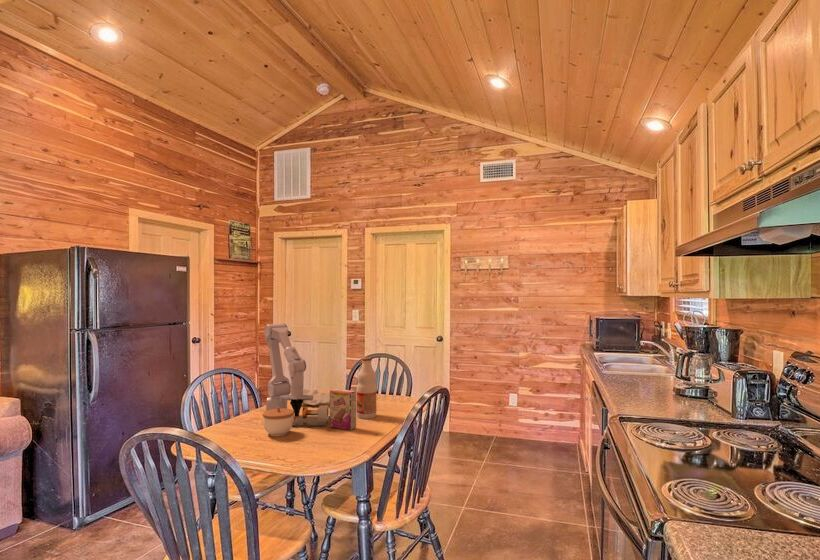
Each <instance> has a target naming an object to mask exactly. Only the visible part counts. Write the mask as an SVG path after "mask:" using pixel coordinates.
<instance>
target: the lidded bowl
mask: <svg viewBox="0 0 820 560" xmlns="http://www.w3.org/2000/svg"><path fill="white" fill-rule="evenodd" d="M262 417H263V418H262V420H263V422H262V423H263V427H264V430H265V431H266V432H267V433H268V434H269V436H271V437H283V436H286V435H288V432H289V431H291V429H292V428H293V427H292V425H293V422H294V417H295V414H294V410H293V409H292V408H287V409H286V408H280V407H277V409H271V410H267V411H266V410H265V411H264V412H263V413H262Z"/></svg>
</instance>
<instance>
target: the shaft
mask: <svg viewBox="0 0 820 560" xmlns="http://www.w3.org/2000/svg"><path fill="white" fill-rule="evenodd" d="M301 416H302V418H307V416H318V409H309V408H308V407H307V406H304V407H302V411H301Z"/></svg>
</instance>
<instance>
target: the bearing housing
mask: <svg viewBox="0 0 820 560" xmlns="http://www.w3.org/2000/svg"><path fill="white" fill-rule="evenodd" d="M317 410H318V415H311V416H307V418H302V415H301V416H300V415H299V416H298V417H295V420H294V419H293V425H292V427H291V428H326V426H327V424H328V422H330V407H329V406H318V408H317Z"/></svg>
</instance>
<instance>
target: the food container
mask: <svg viewBox="0 0 820 560" xmlns="http://www.w3.org/2000/svg"><path fill="white" fill-rule="evenodd" d="M303 395H313V401H310V400H304V401H303V403H302V405H306V406H314V407H319V406H329V408H330V392H320V391H318V390H317V389H315V390H310V389H307V388H306V389H304V388H303Z"/></svg>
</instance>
